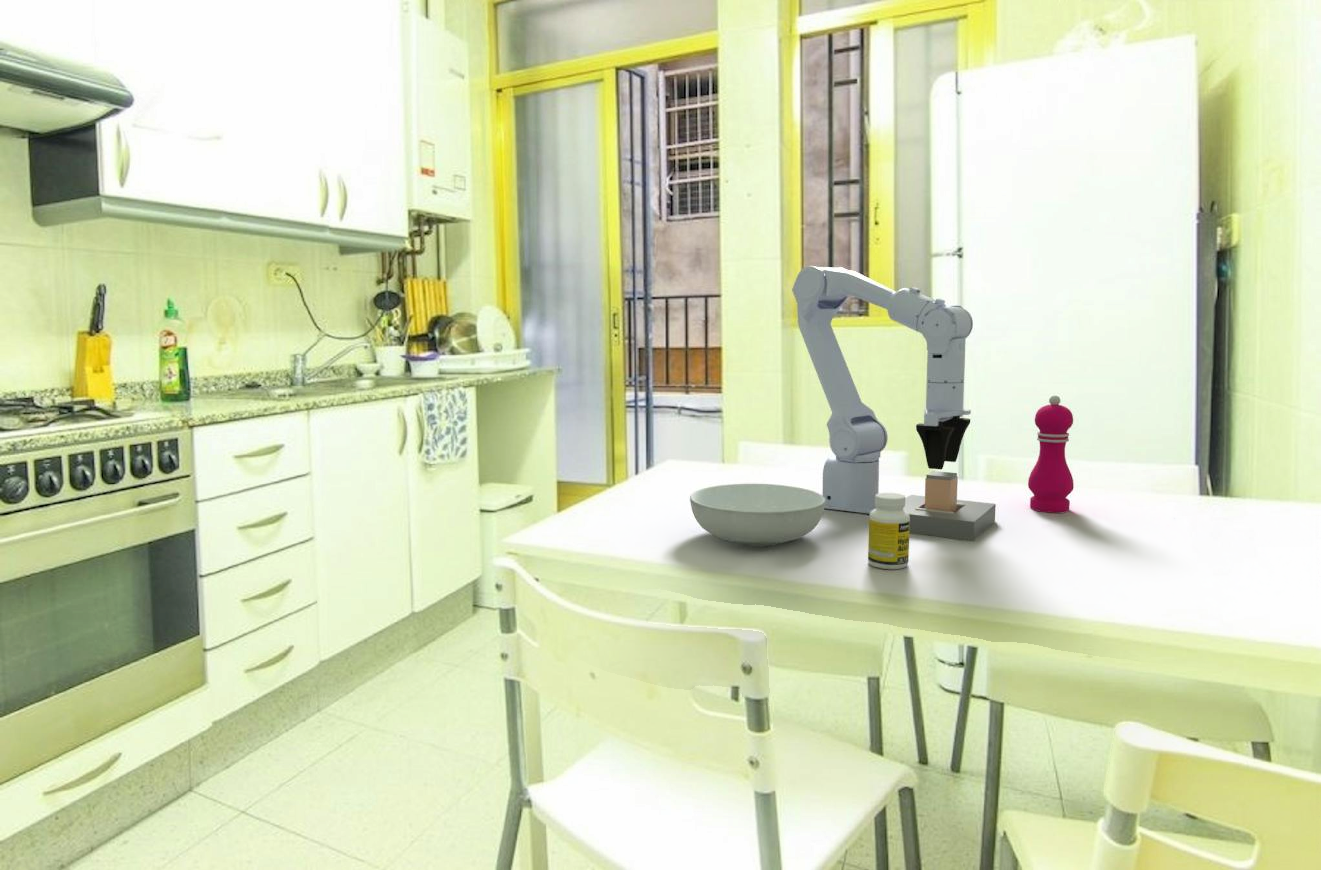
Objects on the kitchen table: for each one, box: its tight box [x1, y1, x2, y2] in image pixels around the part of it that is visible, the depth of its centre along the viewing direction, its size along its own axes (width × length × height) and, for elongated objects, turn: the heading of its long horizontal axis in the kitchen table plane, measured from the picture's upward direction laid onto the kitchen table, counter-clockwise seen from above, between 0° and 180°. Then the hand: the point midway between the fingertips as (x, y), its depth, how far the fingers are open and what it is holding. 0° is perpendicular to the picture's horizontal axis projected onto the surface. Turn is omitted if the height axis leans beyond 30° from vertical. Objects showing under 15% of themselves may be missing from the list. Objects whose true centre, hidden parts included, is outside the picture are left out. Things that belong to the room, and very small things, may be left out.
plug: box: [924, 470, 959, 513], centre depth 132 cm, size 4×4×9 cm
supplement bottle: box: [867, 492, 910, 570], centre depth 112 cm, size 5×5×10 cm
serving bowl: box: [689, 483, 826, 547], centre depth 127 cm, size 21×21×7 cm
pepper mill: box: [1027, 395, 1074, 514], centre depth 141 cm, size 7×7×20 cm
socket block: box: [903, 494, 997, 542], centre depth 133 cm, size 14×14×3 cm
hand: (942, 464), depth 133 cm, fingers open, 7 cm apart
